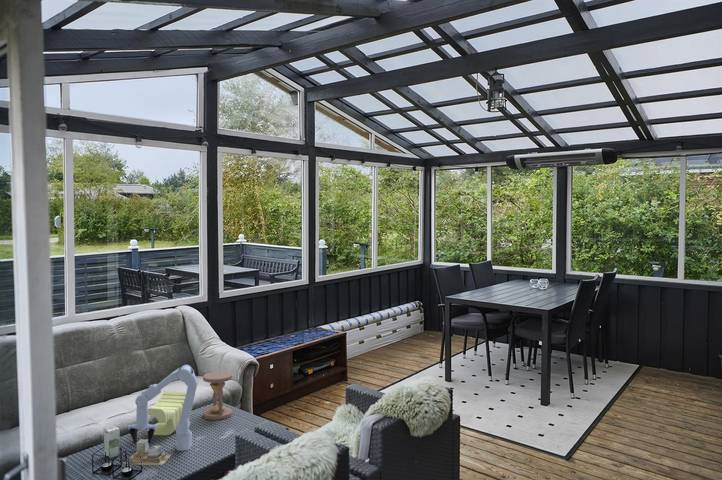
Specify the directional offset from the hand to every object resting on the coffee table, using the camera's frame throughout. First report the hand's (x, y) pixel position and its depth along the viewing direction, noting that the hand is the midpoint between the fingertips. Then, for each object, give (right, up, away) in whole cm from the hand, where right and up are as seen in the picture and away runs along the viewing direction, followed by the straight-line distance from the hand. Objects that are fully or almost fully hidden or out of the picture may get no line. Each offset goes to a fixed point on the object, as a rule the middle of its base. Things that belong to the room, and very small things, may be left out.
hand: (142, 442), depth 288 cm
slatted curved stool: (+1, -4, +30) cm, 30 cm away
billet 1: (0, -5, 0) cm, 5 cm away
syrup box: (-14, -5, -4) cm, 16 cm away
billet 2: (+10, -4, -10) cm, 15 cm away
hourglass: (+25, -3, +55) cm, 61 cm away
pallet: (+7, -5, -10) cm, 13 cm away
